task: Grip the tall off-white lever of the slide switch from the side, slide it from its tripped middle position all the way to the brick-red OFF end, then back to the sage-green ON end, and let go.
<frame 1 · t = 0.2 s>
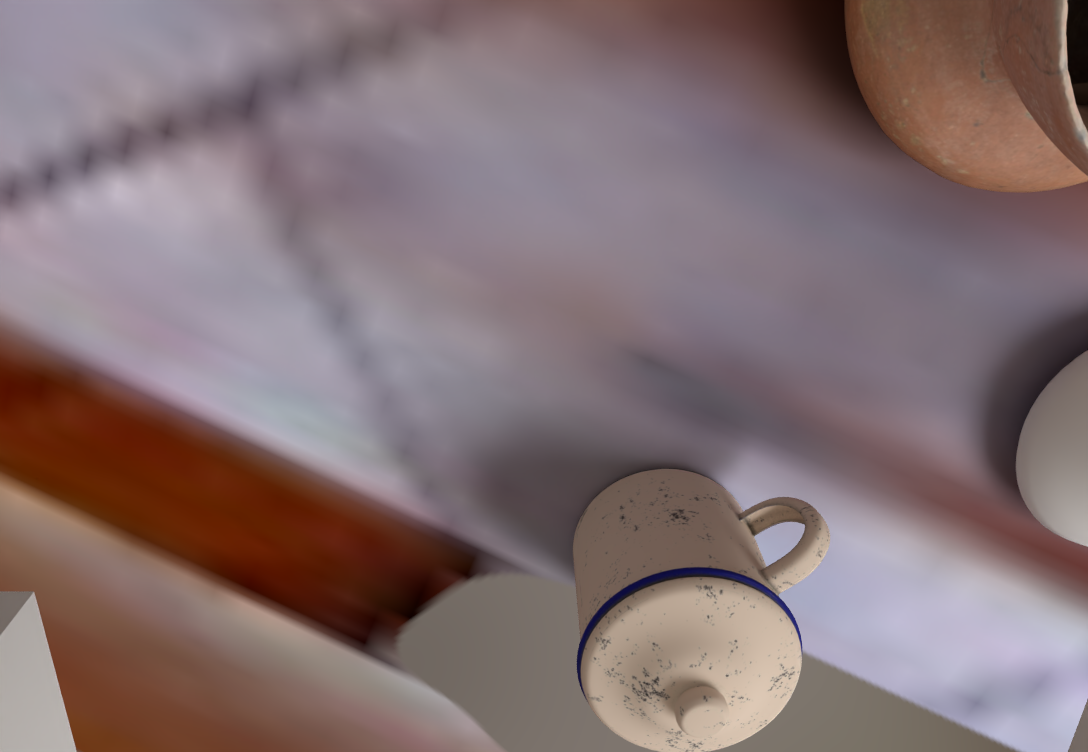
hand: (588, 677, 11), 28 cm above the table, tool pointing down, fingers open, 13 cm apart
beige enamel mug: (683, 523, 43), on the table
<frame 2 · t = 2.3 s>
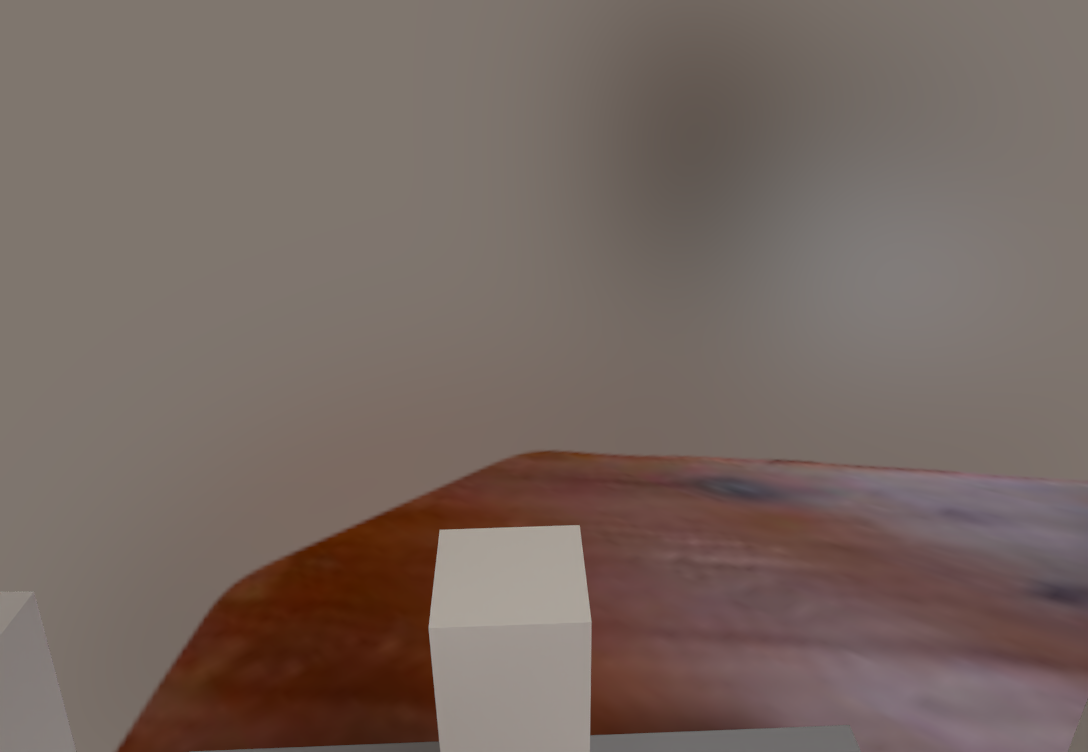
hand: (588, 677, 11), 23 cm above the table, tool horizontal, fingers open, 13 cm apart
switch lever: (517, 750, 26), point 9 cm above the table, slide at 0.0 cm
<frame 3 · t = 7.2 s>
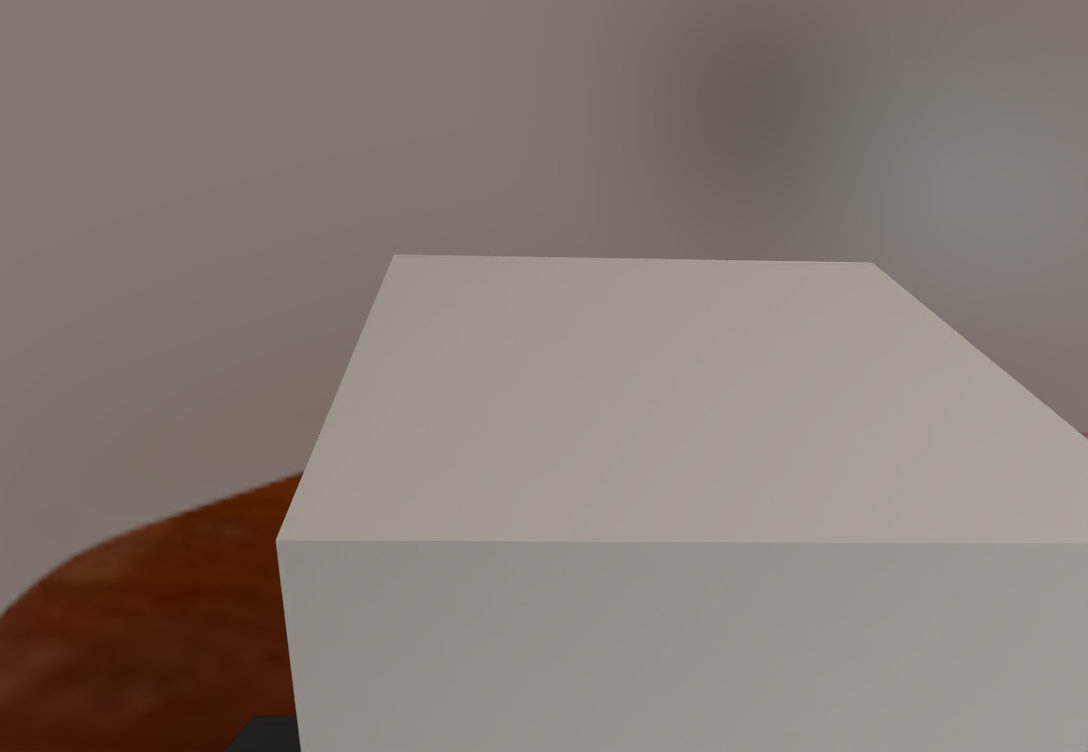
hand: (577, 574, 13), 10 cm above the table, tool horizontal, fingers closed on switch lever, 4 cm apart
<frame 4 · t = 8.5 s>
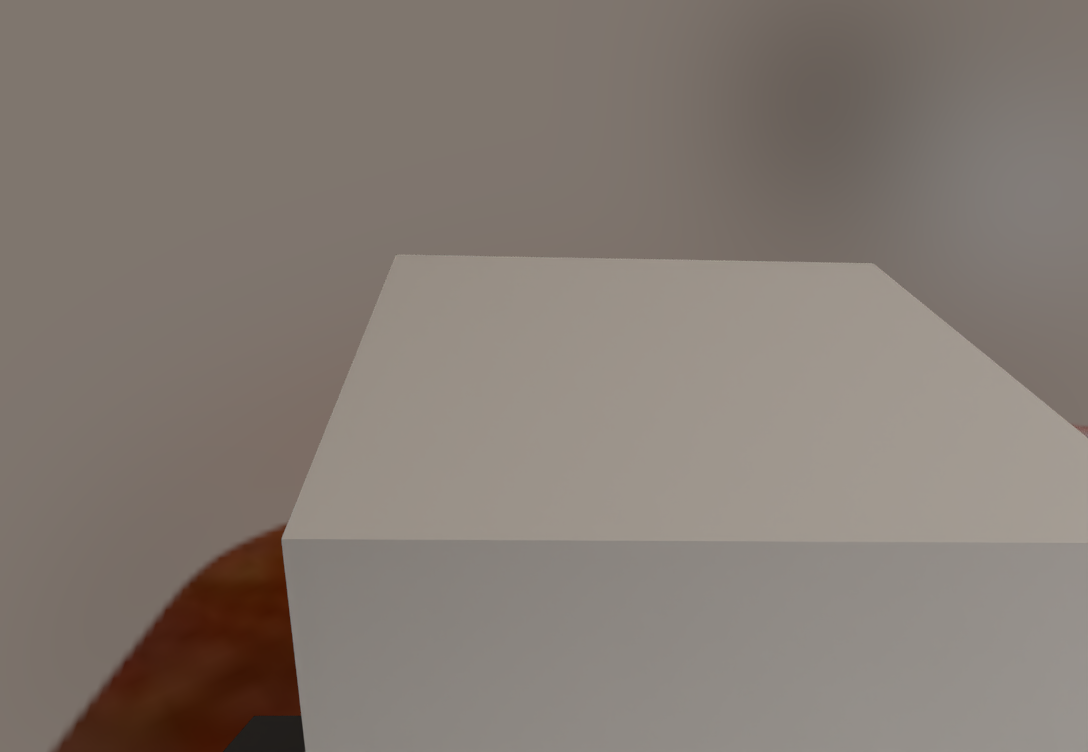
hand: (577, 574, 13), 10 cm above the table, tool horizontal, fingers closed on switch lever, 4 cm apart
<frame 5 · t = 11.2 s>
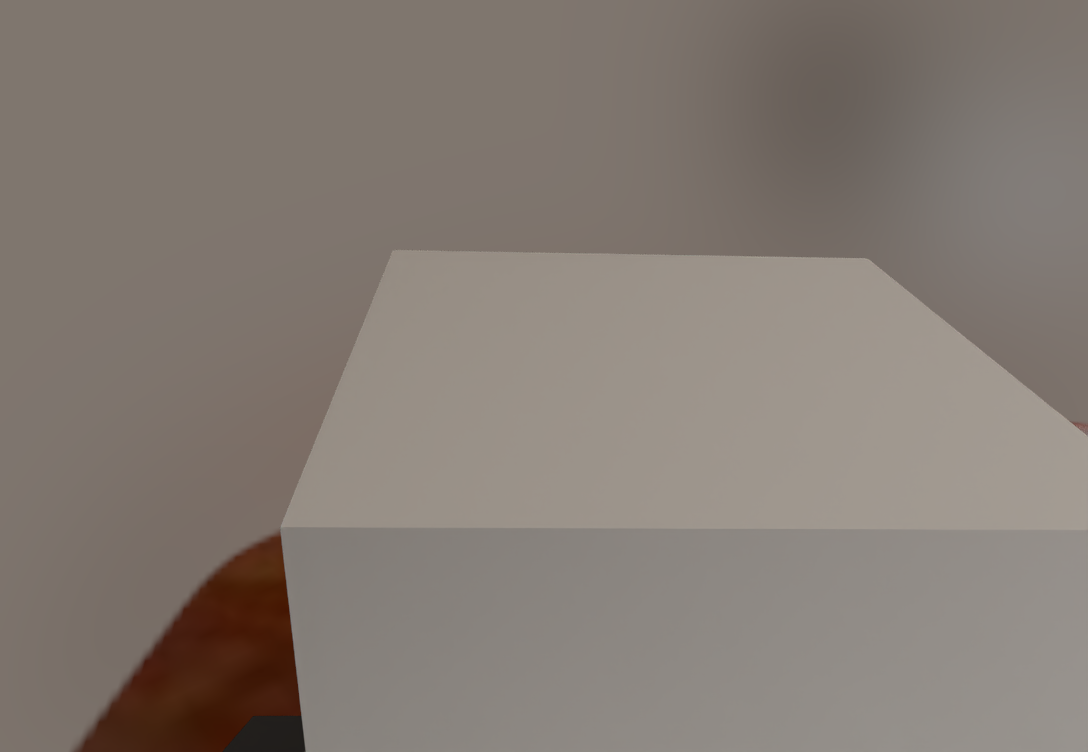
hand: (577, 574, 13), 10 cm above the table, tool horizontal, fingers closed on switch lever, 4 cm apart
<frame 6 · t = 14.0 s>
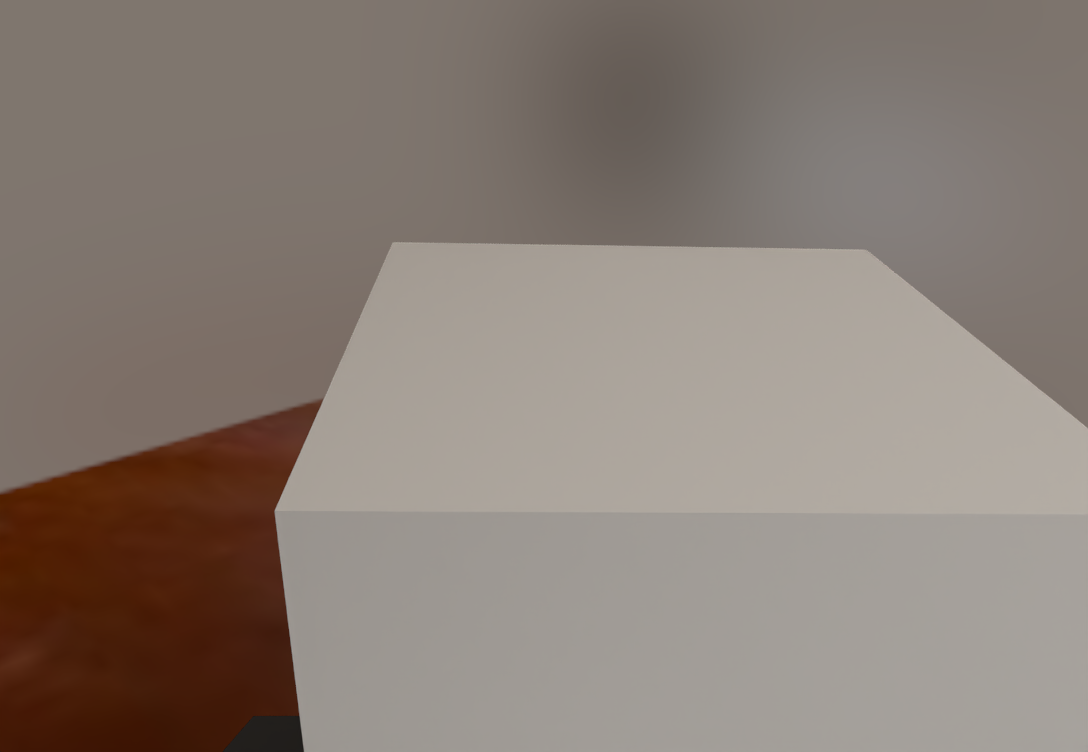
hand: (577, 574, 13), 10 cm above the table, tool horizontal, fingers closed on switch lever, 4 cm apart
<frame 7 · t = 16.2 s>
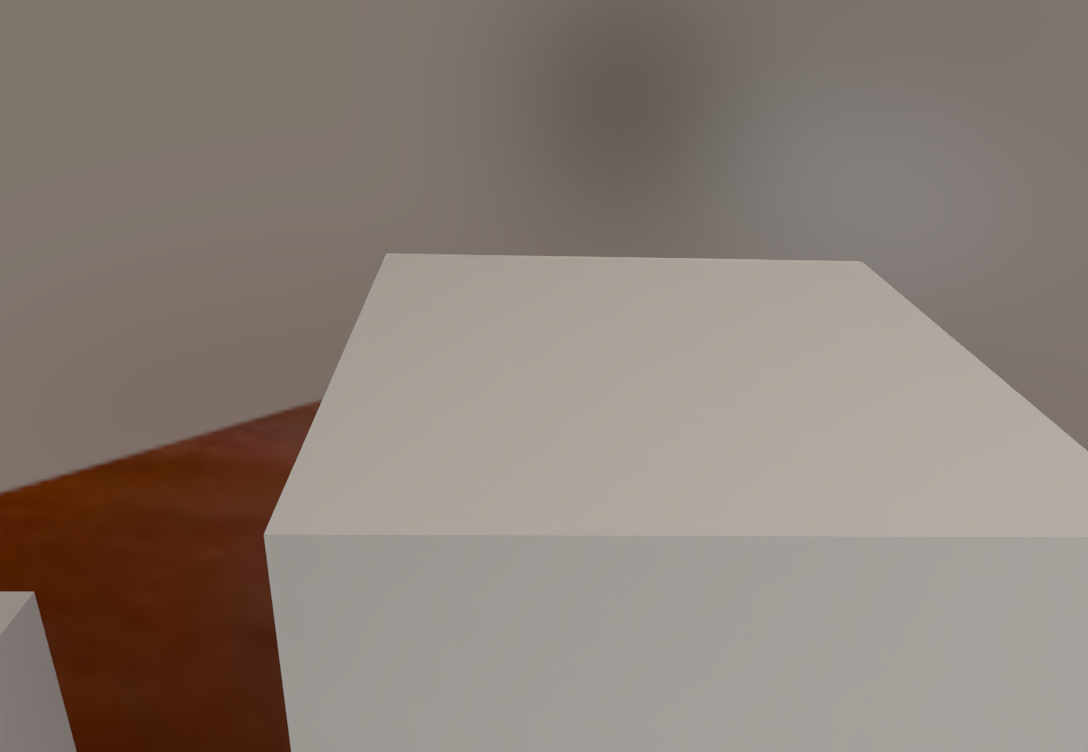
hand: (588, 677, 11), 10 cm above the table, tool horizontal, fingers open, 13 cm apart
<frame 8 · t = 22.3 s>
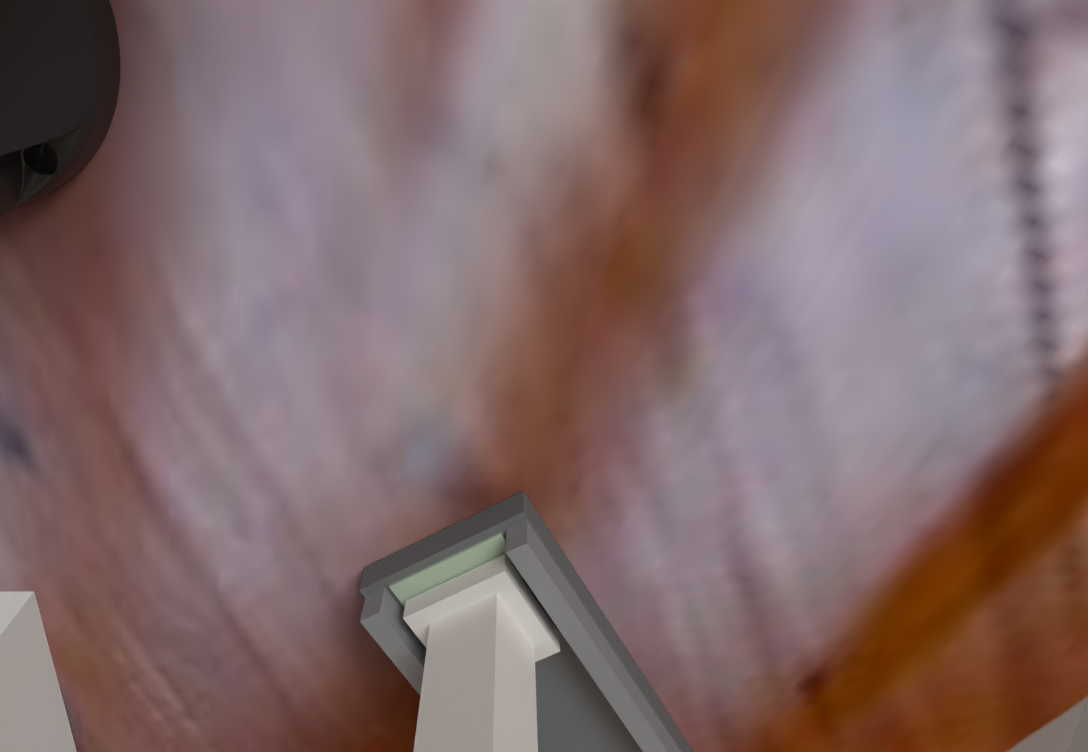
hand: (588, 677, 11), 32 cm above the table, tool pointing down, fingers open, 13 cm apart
switch lever: (479, 712, 41), point 9 cm above the table, slide at -8.4 cm
switch base: (555, 687, 53), on the table
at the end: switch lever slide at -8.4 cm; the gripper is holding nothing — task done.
